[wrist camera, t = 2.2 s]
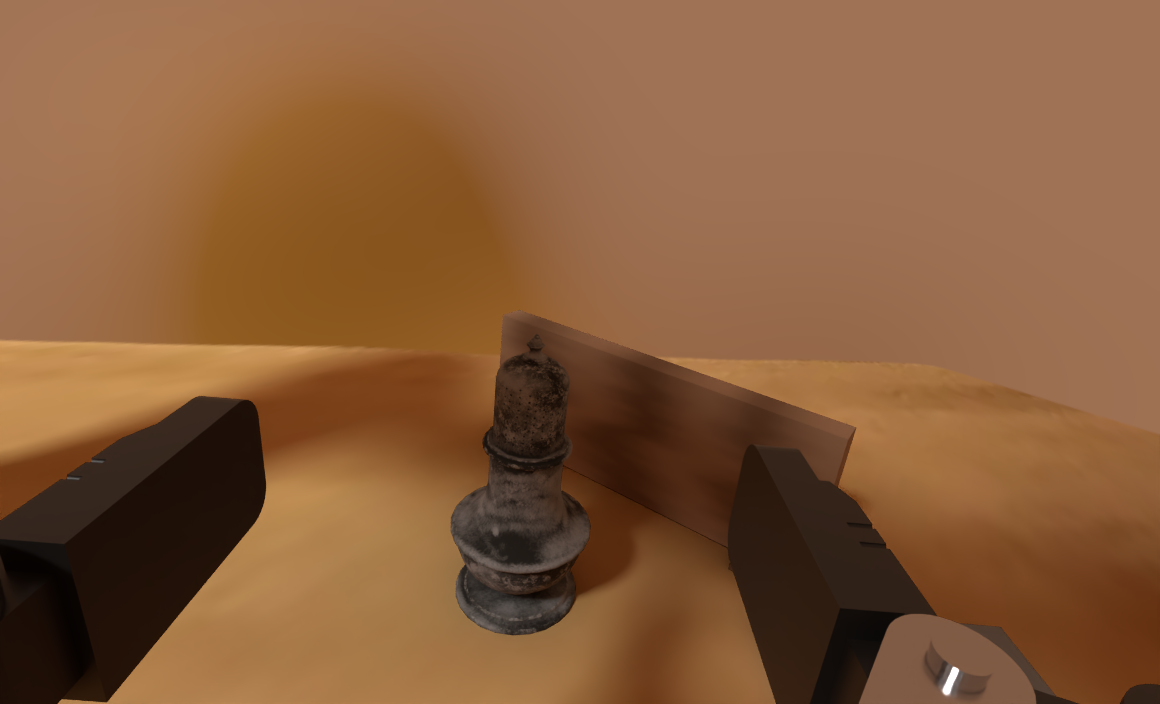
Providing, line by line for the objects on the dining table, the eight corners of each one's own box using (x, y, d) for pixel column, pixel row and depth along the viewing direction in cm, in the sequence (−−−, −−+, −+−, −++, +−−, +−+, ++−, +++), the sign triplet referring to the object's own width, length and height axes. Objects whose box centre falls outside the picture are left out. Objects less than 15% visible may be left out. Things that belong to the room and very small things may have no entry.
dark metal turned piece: (541, 529, 30) (564, 303, 26) (607, 609, 26) (648, 354, 21) (429, 564, 27) (431, 315, 23) (481, 663, 23) (498, 377, 18)
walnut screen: (480, 439, 38) (485, 319, 35) (526, 416, 41) (534, 305, 38) (793, 602, 27) (839, 452, 24) (820, 554, 31) (863, 416, 28)
